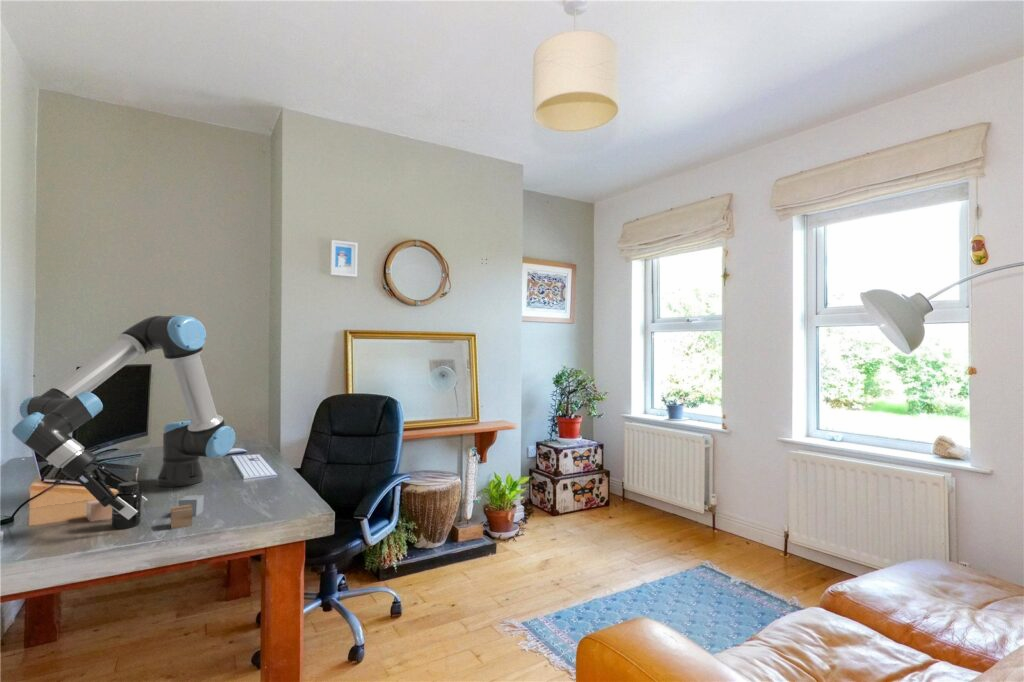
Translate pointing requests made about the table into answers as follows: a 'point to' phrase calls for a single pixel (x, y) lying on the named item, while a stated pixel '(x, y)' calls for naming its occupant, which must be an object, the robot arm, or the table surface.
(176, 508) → the walnut cube
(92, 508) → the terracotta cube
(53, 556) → the table surface
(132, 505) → the supplement bottle
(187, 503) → the slate grey cube
